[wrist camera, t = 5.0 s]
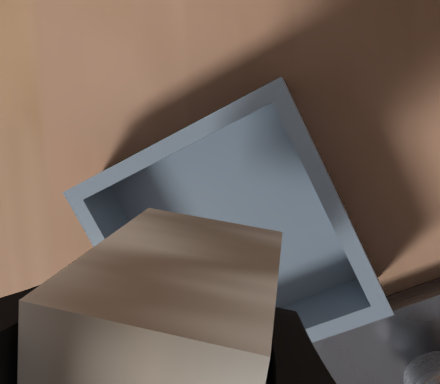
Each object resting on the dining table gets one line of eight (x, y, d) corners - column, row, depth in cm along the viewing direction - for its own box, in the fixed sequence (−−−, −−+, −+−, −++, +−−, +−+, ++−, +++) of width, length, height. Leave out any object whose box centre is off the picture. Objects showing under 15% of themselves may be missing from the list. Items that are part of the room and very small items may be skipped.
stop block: (282, 231, 12) (270, 357, 6) (261, 354, 13) (232, 566, 7) (148, 207, 12) (18, 300, 6) (137, 326, 13) (14, 500, 7)
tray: (192, 346, 20) (174, 389, 17) (98, 177, 19) (62, 192, 16) (378, 278, 17) (394, 314, 15) (283, 79, 16) (281, 76, 13)
